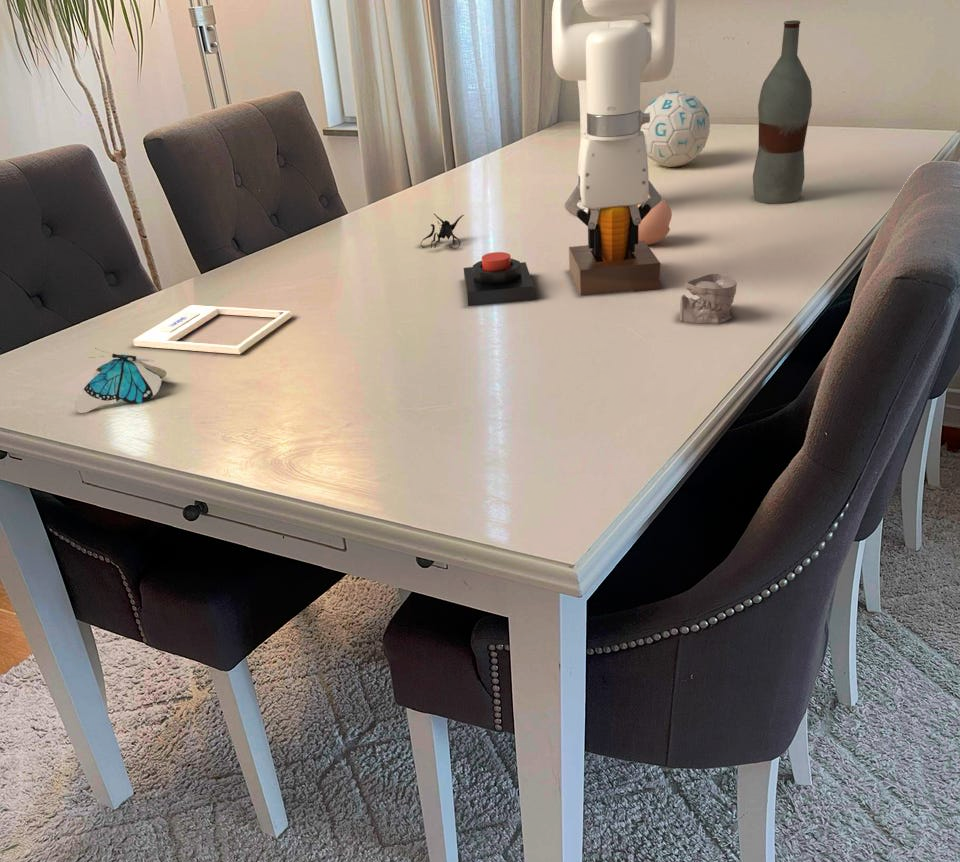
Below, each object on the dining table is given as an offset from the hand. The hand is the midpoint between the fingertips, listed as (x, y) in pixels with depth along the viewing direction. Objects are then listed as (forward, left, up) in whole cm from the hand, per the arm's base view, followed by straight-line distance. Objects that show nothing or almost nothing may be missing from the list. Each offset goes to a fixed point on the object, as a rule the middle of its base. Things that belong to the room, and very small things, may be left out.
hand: (613, 249), depth 146 cm
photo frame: (+7, -61, -5) cm, 62 cm away
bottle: (-38, +38, -5) cm, 54 cm away
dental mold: (+19, +10, -5) cm, 22 cm away
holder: (0, 0, -5) cm, 5 cm away
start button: (0, -18, -1) cm, 18 cm away
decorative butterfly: (+27, -69, -5) cm, 74 cm away
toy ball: (-17, +9, -5) cm, 20 cm away
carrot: (0, 0, -4) cm, 4 cm away
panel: (0, -18, -5) cm, 19 cm away
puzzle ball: (-72, +26, -5) cm, 77 cm away
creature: (-27, -26, -5) cm, 38 cm away
